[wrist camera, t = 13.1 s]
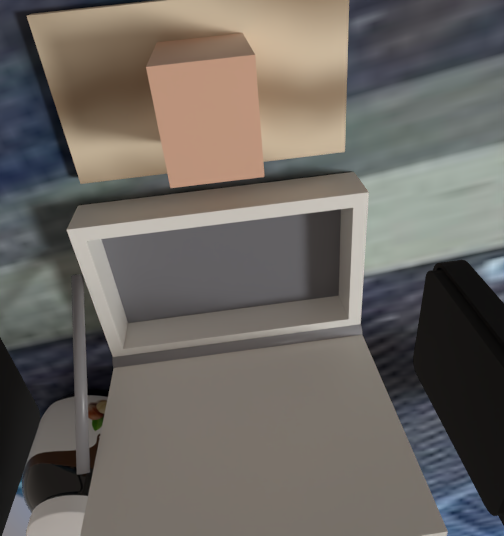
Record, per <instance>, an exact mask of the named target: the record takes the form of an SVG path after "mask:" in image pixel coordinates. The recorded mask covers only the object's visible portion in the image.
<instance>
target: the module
mask: <svg viewBox="0 0 504 536" xmlns="http://www.w3.org/2000/svg"><path fill="white" fill-rule="evenodd" d="M146 70H147V75H148V80H149V85H150V90H151V94H152V99H153V104H154V109H155V114H156V119H157V124H158V129H159V134H160V139H161V144H162V149H163V154H164V159H165V164H166V168H167V173H168V178H169V183H170V188H176V187H185V186H193V185H201V184H209V183H218V182H226V181H234V180H242V179H251V178H259V177H264V164H263V151H262V138H261V124H260V111H259V98H258V85H257V72H256V58H255V53H254V52H253V50H252V48H251V46H250V45H249V43H248V41H247V39H246V38H245V36H244V34H243V33H237V34H228V35H219V36H210V37H201V38H191V39H182V40H173V41H164V42H157V43H156V45H155V48H154V50H153V52H152V54H151V57H150V59H149V61H148V63H147V66H146Z"/></svg>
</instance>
